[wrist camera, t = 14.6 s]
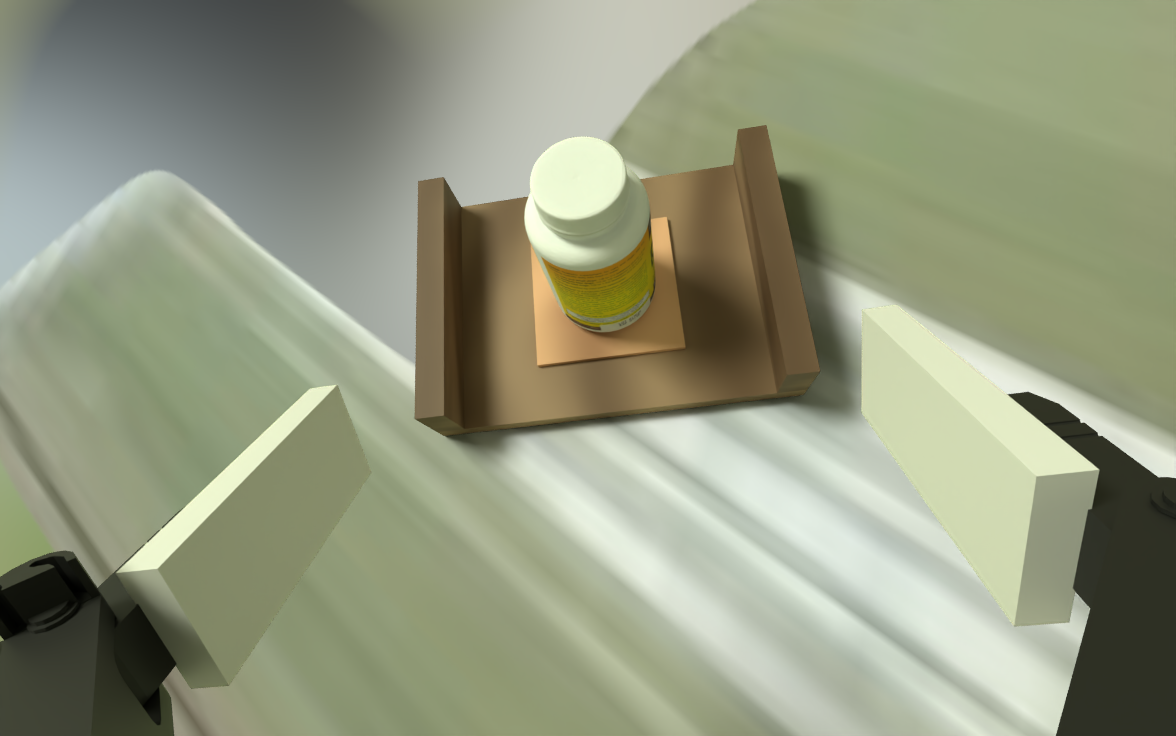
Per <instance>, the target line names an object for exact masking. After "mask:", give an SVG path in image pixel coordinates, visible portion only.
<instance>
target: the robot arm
mask: <svg viewBox="0 0 1176 736" xmlns="http://www.w3.org/2000/svg"><path fill="white" fill-rule="evenodd" d="M861 413H862V414H863V415H864V417H865V418H866V420H867V421H868V422H869V424H870V425H871V427H872V428H873V429H874V431H875V432H876V434H877V435H878V436H879V438H880V439H881V441H882V442H883V443H884V445H885V446H886V448H887V449H888V450H889V452H890V453H891V455H892V456H893V457H894V459H895V460H896V462H897V463H898V464H899V466H900V467H901V469H902V470H903V471H904V473H905V474H906V476H907V477H908V478H909V480H910V481H911V483H912V484H913V485H914V487H915V488H916V490H917V491H918V492H919V494H920V495H921V497H922V498H923V499H924V501H925V502H926V504H927V505H928V507H929V508H930V509H931V511H932V512H933V514H934V515H935V516H936V518H937V519H938V521H939V522H940V523H941V525H942V526H943V528H944V529H945V530H946V532H947V533H948V535H949V536H950V537H951V539H952V540H953V542H954V543H955V544H956V546H957V547H958V549H959V550H960V551H961V553H962V554H963V556H964V557H965V558H966V560H967V561H968V563H969V564H970V565H971V567H972V568H973V570H974V571H975V572H976V574H977V575H978V577H979V578H980V579H981V581H982V582H983V584H984V585H985V586H986V588H987V589H988V591H989V592H990V593H991V595H992V596H993V598H994V599H995V600H996V602H997V603H998V605H999V606H1000V607H1001V609H1002V610H1003V612H1004V613H1005V614H1006V616H1007V617H1008V619H1009V620H1010V621H1011V623H1012V624H1013V626H1028V625H1041V624H1054V623H1067V622H1069V620H1070V615H1071V610H1072V605H1073V600H1074V595H1075V592H1076V593H1077V594H1078V595H1079V596H1080V597H1081V598H1082V600H1083V601H1084V602H1085V603H1086V604H1087V605H1088V606H1089V607H1090V613H1089V616H1088V620H1087V624H1086V627H1085V631H1084V635H1083V638H1082V642H1081V646H1080V649H1079V653H1078V657H1077V660H1076V664H1075V668H1074V671H1073V675H1072V679H1071V682H1070V686H1069V690H1068V693H1067V697H1066V701H1065V704H1064V708H1063V712H1062V716H1061V719H1060V723H1059V727H1058V730H1057V734H1056V736H1176V478H1169V477H1160V478H1158V477H1157V476H1156V475H1154V474H1153V473H1152V472H1150V471H1149V470H1148V469H1146V468H1145V467H1144V466H1142V465H1141V464H1140V463H1138V462H1137V461H1135V460H1134V459H1133V458H1131V457H1130V456H1129V455H1127V454H1126V453H1125V452H1123V451H1122V450H1121V449H1119V448H1118V447H1116V446H1115V445H1114V444H1112V443H1111V442H1110V441H1108V440H1107V439H1106V438H1104V437H1103V436H1098V432H1096V431H1095V430H1093V429H1092V428H1091V427H1089V426H1088V425H1087V424H1085V423H1081V422H1080V419H1079V418H1077V417H1076V416H1074V415H1073V414H1072V413H1070V412H1069V411H1068V410H1066V409H1065V408H1064V407H1062V406H1061V405H1060V404H1058V403H1055V402H1053V401H1050V400H1048V399H1045V398H1043V397H1040V396H1037V395H1035V394H1032V393H1030V392H1024V393H1016V394H1006V393H1005V392H1003V391H1002V390H1001V389H1000V388H998V387H997V386H996V385H995V384H993V383H992V382H991V381H990V380H989V379H987V378H986V377H985V376H984V375H982V374H981V373H980V372H979V371H978V370H976V369H975V368H974V367H973V366H971V365H970V364H969V363H968V362H966V361H965V360H964V359H963V358H962V357H960V356H959V355H958V354H957V353H955V352H954V351H953V350H952V349H950V348H949V347H948V346H947V345H946V344H944V343H943V342H942V341H941V340H939V339H938V338H937V337H936V336H935V335H933V334H932V333H931V332H930V331H928V330H927V329H926V328H925V327H923V326H922V325H921V324H920V323H919V322H917V321H916V320H915V319H914V318H912V317H911V316H910V315H909V314H907V313H906V312H905V311H904V310H903V309H901V308H900V307H899V306H898V305H891V306H884V307H877V308H870V309H863V310H862V395H861ZM370 474H371V470H370V467H369V465H368V462H367V459H366V457H365V454H364V452H363V449H362V447H361V444H360V442H359V439H358V436H357V434H356V431H355V429H354V426H353V424H352V421H351V419H350V416H349V413H348V411H347V408H346V406H345V403H344V401H343V398H342V395H341V393H340V390H339V388H338V385H332V386H325V387H318V388H311V389H309V390H308V391H307V392H306V393H305V394H304V395H303V396H302V397H301V398H300V399H299V400H298V401H297V402H295V403H294V404H293V405H292V406H291V407H290V408H289V409H288V410H287V411H286V412H285V413H284V414H283V415H282V416H281V417H280V418H279V419H278V420H276V421H275V422H274V423H273V424H272V425H271V426H270V427H269V428H268V429H267V430H266V431H265V432H264V433H263V434H262V435H261V436H260V437H259V438H257V439H256V440H255V441H254V442H253V443H252V444H251V445H250V446H249V447H248V448H247V449H246V450H245V451H244V452H243V453H242V454H241V455H240V456H238V457H237V458H236V459H235V460H234V461H233V462H232V463H231V464H230V465H229V466H228V467H227V468H226V469H225V470H224V471H223V472H222V473H221V474H220V475H218V476H217V477H216V478H215V479H214V480H213V481H212V482H211V483H210V484H209V485H208V486H207V487H206V488H205V489H204V490H203V491H202V492H201V493H199V494H198V495H197V496H196V497H195V498H194V499H193V500H192V501H191V502H190V503H189V504H188V505H187V506H186V507H184V508H182V509H181V510H180V511H179V512H178V513H177V514H175V515H174V516H173V517H172V518H171V519H170V520H169V521H168V522H167V523H166V524H165V525H164V526H163V527H162V529H161V530H158V531H157V532H156V533H155V534H154V535H153V536H152V537H151V538H150V539H149V540H148V541H147V542H148V543H147V544H145V545H143V546H142V547H140V548H139V549H138V550H137V551H136V552H135V553H134V554H133V555H132V556H131V557H130V558H129V559H128V560H127V561H126V562H125V563H124V564H122V565H121V566H120V567H119V568H118V569H117V570H116V571H115V572H114V573H113V574H112V575H111V576H110V577H109V578H108V579H107V580H106V581H104V582H103V583H102V584H101V585H100V586H99V587H98V588H97V587H96V585H95V584H94V582H93V581H92V579H91V578H90V576H89V575H88V573H87V572H86V570H85V569H84V567H83V566H82V564H81V563H80V561H79V560H78V559H77V557H76V556H75V554H74V553H73V552H70V551H59V552H53V553H49V554H46V555H43V556H41V557H38V558H35V559H32V560H30V561H28V562H26V563H24V564H22V565H20V566H18V567H16V568H14V569H12V570H10V571H9V572H7V573H6V574H4V575H3V576H1V577H0V636H1V637H2V638H3V639H4V641H1V642H0V736H174V728H173V716H172V704H171V697H170V695H169V693H168V691H167V690H166V688H165V687H164V686H163V684H162V682H163V681H164V679H165V678H166V677H167V676H168V674H169V673H170V672H171V671H172V669H173V668H174V667H175V665H176V667H177V668H178V670H179V671H180V673H181V674H182V676H183V677H184V679H185V680H186V682H187V684H188V685H189V687H190V688H191V689H193V688H206V687H219V686H229V685H230V684H231V682H232V681H233V679H234V678H235V676H236V675H237V673H238V672H239V670H240V669H241V667H242V666H243V664H244V663H245V661H246V660H247V658H248V657H249V655H250V654H251V652H252V651H253V649H254V648H255V646H256V645H257V643H258V642H259V640H260V639H261V637H262V636H263V634H264V633H265V631H266V630H267V628H268V627H269V625H270V624H271V622H272V621H273V619H274V618H275V616H276V615H277V613H278V612H279V610H280V609H281V607H282V606H283V604H284V603H285V601H286V600H287V598H288V597H289V595H290V594H291V592H292V591H293V589H294V588H295V586H296V585H297V583H298V582H299V580H300V579H301V577H302V576H303V574H304V573H305V571H306V570H307V568H308V567H309V565H310V564H311V562H312V561H313V559H314V558H315V556H316V555H317V553H318V552H319V550H320V549H321V547H322V546H323V544H324V543H325V541H326V540H327V538H328V537H329V535H330V534H331V532H332V531H333V529H334V528H335V526H336V525H337V523H338V522H339V520H340V519H341V517H342V516H343V514H344V513H345V511H346V510H347V508H348V507H349V505H350V504H351V502H352V501H353V499H354V498H355V496H356V495H357V493H358V492H359V490H360V489H361V487H362V486H363V484H364V483H365V481H366V480H367V478H368V477H369V475H370Z"/></svg>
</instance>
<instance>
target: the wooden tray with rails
mask: <svg viewBox="0 0 1176 736" xmlns="http://www.w3.org/2000/svg"><path fill="white" fill-rule="evenodd" d="M640 180H641V182H642V183H643V185H644V187H645V189H646V192H647V195H648V199H649V205H650V214H651V230H652V240H653V252H654V265H655V280H656V283H655V292H654V296H653V299H652V301H651V304H650V305H649V307H648V309H647V310H646V311H645V313H644V314H643V315H642V316H641V317H640V318H639V319H638V320H637V321H635V322H634V323H632V324H631V325H629V326H627V327H625V328H622V329H620V330H616V331H611V332H595V331H590V330H587V329H584V328H582V327H580V326H578V325H576V324H575V323H573V322H572V321H571V320H569V319H568V318H567V317H566V315H565V314H564V313H563V312H562V310H561V308H560V307H559V305H558V303H557V301H556V298H555V296H554V294H553V292H552V290H551V288H550V285H549V283H548V281H547V279H546V277H545V274H544V272H543V270H542V267H541V265H540V263H539V261H538V259H537V257H536V254H535V252H534V250H533V248H532V245H531V243H530V241H529V238H528V235H527V232H526V228H525V220H524V216H525V207H526V203H527V200H528V197H523V198H517V199H511V200H504V201H497V202H492V203H485V204H478V205H472V206H465V207H461V206H460V204H459V202H458V201H457V199H456V197H455V196H454V194H453V192H452V191H451V189H450V187H449V185H448V184H447V182H446V180H445V179H444V178H443V177H442V178H435V179H429V180H424V181H418V235H417V236H418V237H417V303H416V304H417V305H416V306H417V307H416V370H415V419H416V420H417V421H419V422H421V423H423V424H424V425H426V426H428V427H430V428H431V429H433V430H435V431H436V432H438V433H440V434H442V435H443V436H449V435H457V434H466V433H475V432H484V431H493V430H501V429H510V428H519V427H528V426H537V425H545V424H554V423H563V422H572V421H580V420H589V419H598V418H607V417H616V416H624V415H633V414H642V413H651V412H660V411H668V410H677V409H686V408H695V407H703V406H712V405H721V404H730V403H739V402H747V401H756V400H765V399H774V398H783V397H791V396H800V395H804V394H805V392H806V391H807V389H808V388H809V387H810V385H811V384H812V382H813V381H814V380H815V378H816V377H817V375H818V374H819V372H820V367H819V363H818V358H817V354H816V349H815V345H814V340H813V335H812V331H811V326H810V322H809V317H808V313H807V308H806V304H805V299H804V294H803V290H802V285H801V281H800V276H799V272H798V267H797V262H796V258H795V253H794V249H793V244H792V240H791V235H790V231H789V226H788V221H787V217H786V212H785V208H784V203H783V199H782V194H781V190H780V185H779V180H778V176H777V171H776V167H775V162H774V158H773V153H772V149H771V144H770V139H769V135H768V130H767V126H766V125H764V126H758V127H751V128H745V129H739V130H738V133H737V141H736V148H735V156H734V163H733V165H729V166H723V167H716V168H710V169H703V170H697V171H691V172H684V173H678V174H671V175H665V176H658V177H652V178H645V179H640Z"/></svg>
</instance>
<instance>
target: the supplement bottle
mask: <svg viewBox="0 0 1176 736" xmlns="http://www.w3.org/2000/svg"><path fill="white" fill-rule="evenodd" d="M530 189H531V193H530V195H529V197H528V200H527V203H526V207H525V216H524V220H525V228H526V232H527V235H528V238H529V241H530V243H531V245H532V248H533V250H534V252H535V254H536V257H537V259H538V261H539V263H540V265H541V267H542V270H543V272H544V274H545V277H546V279H547V281H548V283H549V285H550V288H551V290H552V292H553V294H554V296H555V298H556V301H557V303H558V305H559V307H560V308H561V310H562V312H563V313H564V314H565V315H566V317H567V318H568V319H569V320H571V321H572V322H573V323H575V324H576V325H578V326H580V327H582V328H584V329H587V330H590V331H595V332H611V331H616V330H620V329H622V328H625V327H627V326H629V325H631V324H632V323H634V322H635V321H637V320H638V319H639V318H640V317H641V316H642V315H643V314H644V313H645V311H646V310H647V309H648V307H649V305H650V304H651V301H652V299H653V296H654V292H655V283H656V280H655V265H654V252H653V240H652V230H651V214H650V205H649V199H648V195H647V192H646V189H645V187H644V185H643V183H642V182H641V180H640V179H639V178H638V176H637V175H636V174H635V173H634V172H633V171H632V170H630V169H629V168H628V167H626V165H625V163H624V160H623V158H622V156H621V155H620V153H619V152H618V151H617V150H616V149H615V148H614V147H613V146H612V145H610V144H609V143H607V142H605V141H603V140H599V139H597V138H592V137H574V138H570V139H566V140H563V141H561V142H559V143H556V144H555V145H553V146H551V147H550V148H549V149H547V150H546V151H545V152H544V153H543V154H542V155H541V156H540V157H539V159H538V160H537V162H536V164H535V165H534V167H533V170H532V173H531V178H530Z"/></svg>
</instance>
